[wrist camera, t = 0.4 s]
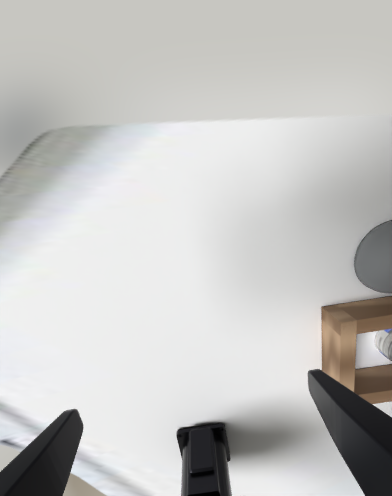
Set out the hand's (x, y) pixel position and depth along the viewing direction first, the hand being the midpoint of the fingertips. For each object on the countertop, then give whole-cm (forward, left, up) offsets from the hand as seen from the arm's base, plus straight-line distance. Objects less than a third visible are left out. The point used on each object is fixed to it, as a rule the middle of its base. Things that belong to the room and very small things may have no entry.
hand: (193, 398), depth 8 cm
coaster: (-2, -22, -14) cm, 26 cm away
